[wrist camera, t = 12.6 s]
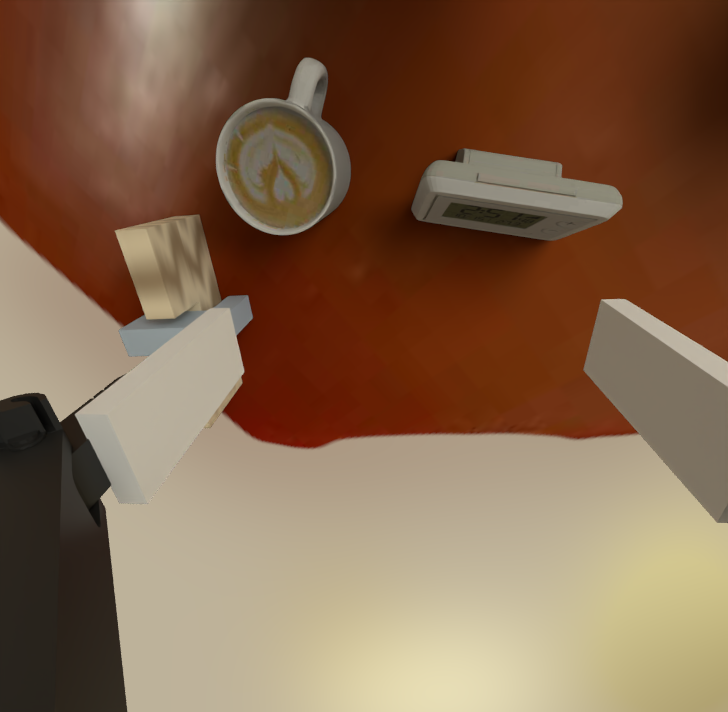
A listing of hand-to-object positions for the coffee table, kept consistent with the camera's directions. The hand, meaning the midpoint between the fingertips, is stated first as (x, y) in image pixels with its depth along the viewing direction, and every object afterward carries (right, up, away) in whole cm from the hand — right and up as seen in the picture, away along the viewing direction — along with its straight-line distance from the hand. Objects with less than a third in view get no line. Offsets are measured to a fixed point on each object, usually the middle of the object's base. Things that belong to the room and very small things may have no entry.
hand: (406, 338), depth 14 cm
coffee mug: (-7, +20, +25) cm, 33 cm away
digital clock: (+12, +16, +25) cm, 32 cm away
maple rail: (-21, +5, +33) cm, 40 cm away
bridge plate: (-21, +5, +33) cm, 40 cm away
